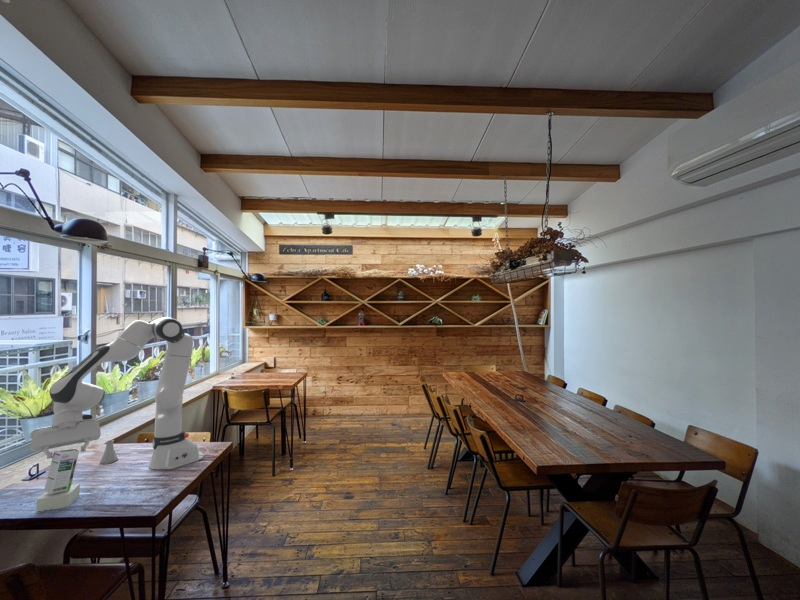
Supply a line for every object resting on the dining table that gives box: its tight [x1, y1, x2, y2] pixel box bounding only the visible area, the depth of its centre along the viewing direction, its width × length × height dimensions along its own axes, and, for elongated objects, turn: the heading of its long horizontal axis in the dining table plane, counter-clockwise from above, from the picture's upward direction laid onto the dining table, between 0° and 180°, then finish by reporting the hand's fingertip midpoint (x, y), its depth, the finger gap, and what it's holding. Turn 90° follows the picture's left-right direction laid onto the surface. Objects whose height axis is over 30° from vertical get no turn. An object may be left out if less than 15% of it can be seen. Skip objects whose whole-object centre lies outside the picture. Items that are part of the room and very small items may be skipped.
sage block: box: [36, 483, 81, 513], centre depth 131 cm, size 9×9×5 cm
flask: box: [99, 439, 119, 465], centre depth 170 cm, size 7×7×10 cm
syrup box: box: [43, 448, 80, 494], centre depth 132 cm, size 6×6×14 cm
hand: (66, 454), depth 134 cm, fingers open, 8 cm apart
